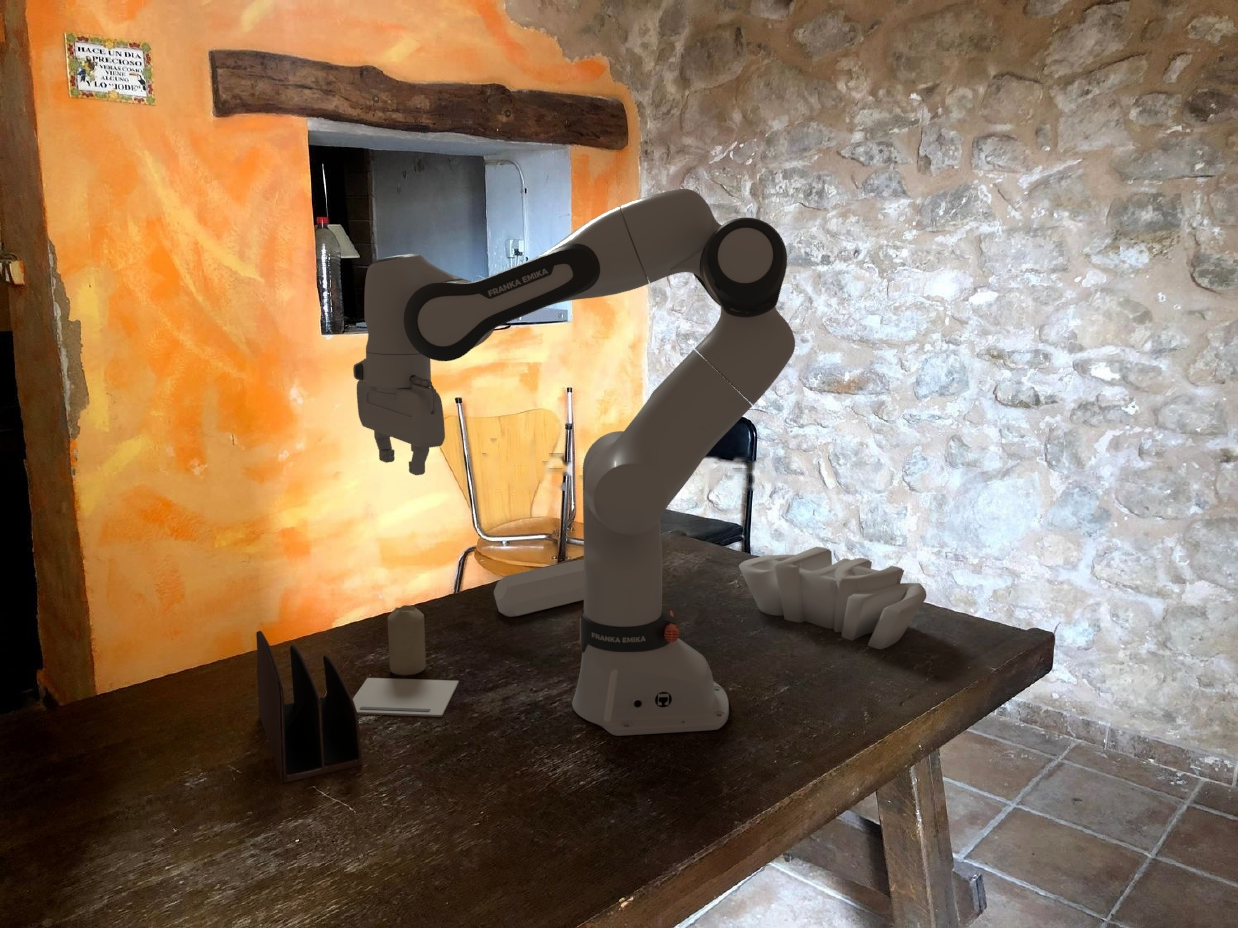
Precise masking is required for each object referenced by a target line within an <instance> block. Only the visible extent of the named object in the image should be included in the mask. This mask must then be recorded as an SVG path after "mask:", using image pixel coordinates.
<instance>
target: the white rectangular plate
mask: <svg viewBox="0 0 1238 928" xmlns="http://www.w3.org/2000/svg"><path fill="white" fill-rule="evenodd" d="M459 683H460V682H459V680H451V679H450V680H444V679H419V678H417V679H414V678H413V679H412V678H380V677H367V678H366V679H365V681H364V682H363V684H362V686H361V687H360V688H359V690H358V691H357V692H356V694H355V695H354V696H353V697H352V699H353V701H354V704H355V707H356V710H357V714H358V715H376V716H377V715H378V716H379V715H380V716H382V715H383V716H406V717H432V718H433V717H434V718H435V717H436V718H437V717H438V718H442V717H443V715H444V714H445V711H446V710H447V708H448V705H449V704H450V702H451V700H452V697H453V695H454V693H455V691H456V689H457V687H458V685H459Z"/></svg>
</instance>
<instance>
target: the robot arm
mask: <svg viewBox="0 0 1238 928" xmlns="http://www.w3.org/2000/svg"><path fill="white" fill-rule="evenodd" d="M786 247H787V246H786V244H785V242H784V240H783V238H782V236H781V235H780V233H779V232H778V231H777V230H776V229H775V228H774V227H773V225H771V224H769V223H768V222H765V221H764V220H762V219H758V218H755V217H747V216H746V217H737V218H734V219H731V220H729V221H727V222H725V223H722V224H720V223H719V222H718V221H717V219H716V218H715V216H714V214H713V211H712V210H711V207H710V205H709V204H708V202H707V201H706V199H705V198H704V197H703V196H702V195H700V194H699V193H698V192H696V191H695V190H693V189H689V188H678V189H673V190H672V189H671V190H667V191H664V192H662V191H661V192H660V193H655V194H651V195H648V196H645V197H642V198H641V197H640V198H638V199H635V200H631V201H630V202H627V203H623V204H621V205H620V206H617V207H613V208H612V209H609V210H607V211H606V212H603V213H601V214H600V215H597V216H596V217H594V218H592V219H591V220H589V221H587V222H585V223H584V224H582V225H581V226H579V227H578V228H577V229H575V230H574V231H572V232H571V233H570V234H568V235H567V236H565V237H564V238H563V239H562V240H560V241H559V242H558V243H557V244H555V245H553V246H552V247H551V248H549V249H547V250H546V251H545V252H542V253H540V254H539V255H537V256H536V257H534V258H532V259H529V260H527V261H525V262H522V263H520V264H517V265H514V266H512V267H509V268H507V269H505V270H501V271H499V272H496V273H495V274H492V275H489V276H487V277H483V278H481V279H478V280H476V281H471V280H468V279H465V278H463V277H460V276H456V275H454V274H452V273H449V272H447V271H445V270H443V269H440V268H439V267H437V266H436V265H434V264H432V263H431V262H429V261H428V260H427V259H426V258H425V257H424V256H422V255H421V254H418V253H407V254H400V255H399V254H398V255H391V256H386V257H381V258H379V259H376V260H375V261H373V262H372V263H371V264H370V265H369V266H368V268H367V271H366V276H365V282H364V283H365V284H364V298H363V299H364V300H363V301H364V305H363V306H364V312H363V313H364V322H365V325H366V327H367V336H368V337H367V342H366V345H365V357H364V358H363V359H362V360H361V361H359V362H356V363H355V364H354V365H353V368H352V370H353V377H354V379H355V380H358V381H357V383H356V399H357V411H358V412H357V413H358V418H359V420H360V421H359V422H360V423H361V426H362V427H364V428H367V429H368V430H371V431H373V433H374V434H373V435H374V436H373V437H374V439H375V443H376V446H377V450H378V456H379V457H378V459H379V461H381V462H383V463H385V464H386V463H387V464H388V463H393V462H394V461H395V449H393V447H392V442H391V438H393V439H395V440H398V441H401V442H403V443H407V444H408V445H409V444H410V451H411V452H412V455H411V456H412V457H411V460H410V461H409V460H408V472H409V473H410V474H411V475H414V476H422V475H424V474H425V473H426V462H427V459H428V456H429V453H430V448H437V447H441V446H442V445H443V444H444V441H445V439H446V432H445V431H446V430H445V429H446V428H445V417H444V409H443V402H442V398H441V396H440V394H439V393H438V392H437V389H436V388H435V387H434V385H433V383H432V374H431V373H432V371H431V368H432V367H431V364H432V363H431V360H433V361H438V362H451V361H455V360H457V359H461V358H462V357H464V356H465V355H466V354H468V353H469V352H470V351H471V350H472V349H474V348H477V347H478V346H480V345H481V344H483V343H484V342H485V341H486V340H487V339H488V338H490V337H491V335H492V334H493V333H494V331H495V330H496V328H498V327H500V326H502V325H505V324H507V323H509V322H511V321H514V320H517V319H520V318H522V317H524V316H526V315H529V314H532V313H535V312H536V311H539V310H542V309H544V308H546V307H550V306H552V305H555V304H560V303H563V302H569V301H570V302H571V301H575V300H576V301H577V300H585V299H586V300H587V299H593V298H602V297H607V296H613V295H617V294H621V293H625V292H629V291H633V290H636V289H639V288H642V287H644V286H647V285H649V284H652V283H654V282H658V281H659V280H661V279H664V278H667V277H670V276H672V275H678V274H681V273H691V274H693V276H694V277H695V278H696V280H697V281H698V282H699V284H701V286H702V287H703V289H704V290H705V291H706V293H707V295H709V297H710V298H711V299H712V300H713V301H714V302H715V303H716V304H717V305H718V306H720V316H719V318H718V320H717V322H716V324H715V325H714V327H713V328H712V329H711V331H710V332H709V333H708V334H707V335H706V336H705V337H704V338H703V339H702V341H701V342H699V343H698V344H697V346H695V348H694V349H692V351H691V352H690V353H688V355H686V356H685V357H684V359H683V360H682V361H681V362H680V363H679V364H678V365H677V366H676V367H675V368H674V369H673V370H672V371H671V372H670V373H669V374H668V375H667V377H665V378H664V380H663V381H662V382H660V384H659V385H658V386H657V387H655V389H653V391H652V393H651V394H650V396H649V397H648V399H647V400H646V402H645V404H643V406H642V407H641V409H640V410H639V411H638V413H637V414H636V415H635V416H634V418H633V419H632V420H631V422H630V423H629V424H627V427H626V428H625V429H624V430H623V431H621V430H618V431H617V430H616V431H611V432H609V433H606V434H604V435H602V436H601V437H599V438H598V439H597V440H595V441H594V442H593V443H592V444H591V445H590V447H589V448H588V450H587V452H586V454H585V456H584V457H583V463H582V464H583V465H582V510H583V511H582V519H583V520H582V522H583V523H582V525H583V526H582V527H583V529H582V530H583V532H582V533H583V559H584V600H583V609H582V610H581V615H580V619H579V645H580V650H581V652H582V653H581V662H580V669H579V675H578V681H577V685H576V689H575V692H574V695H573V698H572V704H571V705H572V708H573V710H574V712H575V713H576V714H577V715H578V716H579V717H581V718H583V719H584V720H586V721H588V722H590V723H593V724H596V725H597V726H600V727H602V728H603V729H604V730H605V731H607V733H609V734H610V735H613V736H618V737H619V736H621V737H622V736H635V735H636V736H637V735H652V734H669V733H670V734H671V733H686V732H702V731H704V732H705V731H715V730H719V729H720V728H722V727H723V726H724V725H725V724H726V723H727V721H728V719H729V715H730V706H729V698H728V695H727V693H726V690H724V688H723V687H722V686H721V685H720V684H718V683H717V682H716V681H714V678H713V674H712V670H711V668H710V665H709V662H708V661H707V660H706V658H705V656H704V655H703V654H702V653H700V652H698V651H697V650H696V649H694V648H693V647H691V646H690V645H688V644H687V643H686V642H684V641H683V640H682V639H680V638H679V636H680V629H679V627H678V626H677V621H676V618H675V616H674V613H673V611H672V610H671V609H670V611H669V612H667V611H665V610H664V609H662V607H663V567H664V566H663V565H664V564H663V562H664V560H663V550H662V549H663V548H662V547H663V546H662V527H661V518H662V517H663V515H664V513H665V511H666V509H667V508H668V507H669V505H670V504H671V502H672V501H673V500H674V499H675V498H676V497H677V495H678V494H679V493H680V491H681V490H682V489H683V488H684V487H685V485H686V484H687V482H688V481H689V480H690V479H691V477H692V476H693V474H694V473H695V471H696V470H697V468H699V466H700V465H701V463H702V461H703V460H704V459H705V458H706V457H707V455H708V454H709V452H711V450H712V449H713V448H714V446H716V444H717V443H718V442H719V441H720V440H721V439H722V438H723V437H724V436H725V434H727V433H728V432H729V431H730V430H731V429H732V428H733V427H734V426H735V425H736V424H737V422H738V421H740V419H741V418H742V417H744V415H745V414H746V413H748V411H749V410H750V409H751V408H752V407H753V406H754V405H756V403H757V402H758V401H759V400H760V398H762V397H763V395H765V393H766V392H767V391H768V390H769V388H770V387H771V386H772V385H773V383H774V382H775V381H776V379H778V377H779V376H780V374H781V373H782V371H783V370H784V369H785V367H786V366H787V364H788V363H789V361H790V359H791V358H792V357H793V354H794V352H795V348H796V339H795V336H794V332H793V330H792V328H791V326H790V324H789V323H788V322H787V320H786V319H785V318H784V317H783V316H782V315H781V313H780V312H779V311H778V310H777V308H776V306H777V305H778V303H779V298H780V294H781V290H782V286H783V283H784V280H785V276H786V273H787V272H786V271H787V267H788V252H787V248H786Z"/></svg>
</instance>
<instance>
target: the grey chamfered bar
mask: <svg viewBox="0 0 1238 928" xmlns="http://www.w3.org/2000/svg"><path fill="white" fill-rule="evenodd" d="M493 595H494V599H495V603H496V606H497V610H498V612H499V613H501V614H502V615H503V616H506V617H509V618H511V617H519V616H523V615H528V614H531V613H535V612H538V611H543V610H546V609H551V608H554V607H560V606H564V605H568V604H571V603H575V602H581V601H584V558H583V559H577V560H573V561H567V562H564V563H558V564H554V565H550V566H549V565H548V566H545V567H541V568H536V569H530V570H527V571H523V572H518V573H517V572H516V573H513V574H508V575H505V576H503V577H502V578H501V579H500V580H498V581H497V583H496V585H495V588H494V590H493Z"/></svg>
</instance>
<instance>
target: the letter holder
mask: <svg viewBox="0 0 1238 928" xmlns="http://www.w3.org/2000/svg"><path fill="white" fill-rule="evenodd" d="M255 635H256V674H257V676H256V678H257V693H258V716H259V719H260V721H261V724H262V726H263V729H264V732H265V735H266V739H267V742H268V745H269V748H270V751H271V754H272V756H273V757H272V758H273V759H274V762H275V766H276V768H277V771H278V774H279V778H280V782H281V784H288V783H292V782H297V781H301V780H306V779H309V778H314V777H317V776H322V775H327V774H331V773H336V772H339V771H344V770H349V769H353V768H357V767H360V766H361V767H362V765H363V754H362V746H361V745H362V744H361V734H360V722H359V716H358V715H359V714H357V710H356V707H355V704H354V701H353V696H352V695H351V693H350V691H349V689H348V687H347V685H346V683H345V681H344V679H343V677H342V675H341V673H340V671H339V670H338V668H337V666H336V665H335V663H334V661H333V660H332V659H331V657H330V656H329V655H327V654H324V655H323V656H322V659H323V666H324V668H323V669H324V676H325V686H326V687H325V690H326V695H325V696H323V697H320V694H319V691H318V688H317V686H316V684H315V681H314V678H313V675H312V674H311V671H310V670H309V667H308V665H307V663H306V660H305V658H304V657H303V655H302V653H301V652H300V649H298V647H297V646H296V644H291V645H290V648H289V651H290V665H291V666H290V667H291V679H292V692H293V693H292V695H293V702H290V703H288V704H285V697H284V695H285V694H284V693H285V691H284V684H283V681H282V677H281V673H280V670H279V667H278V664H277V661H276V658H275V656H274V653H273V650H272V648H271V645H270V644H269V642H268V639H267V638H266V636H265V634H264V633H263V631H261V630H258V631H257V632H256V633H255Z"/></svg>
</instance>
